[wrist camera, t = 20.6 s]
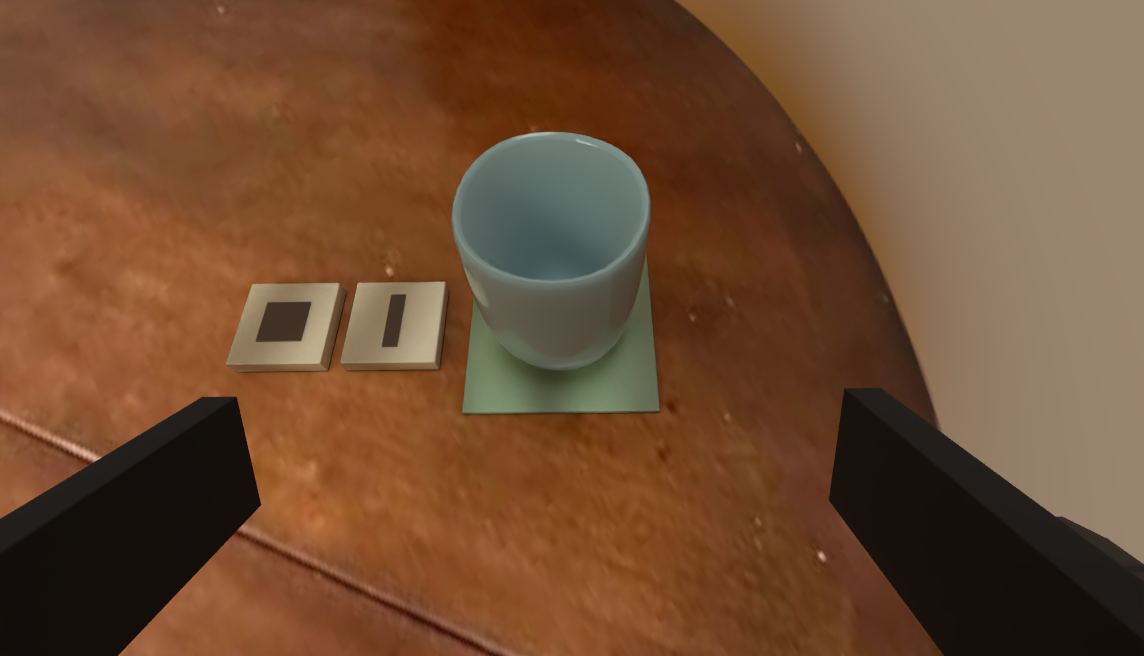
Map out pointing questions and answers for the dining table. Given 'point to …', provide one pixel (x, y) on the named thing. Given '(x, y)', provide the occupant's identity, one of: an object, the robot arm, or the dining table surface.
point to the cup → (553, 245)
